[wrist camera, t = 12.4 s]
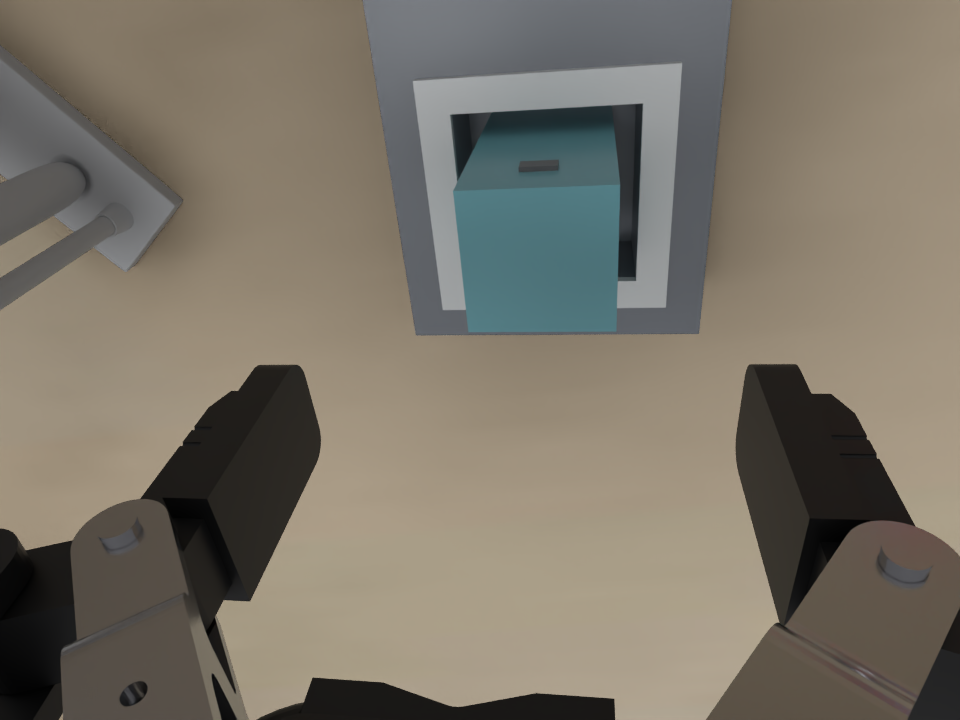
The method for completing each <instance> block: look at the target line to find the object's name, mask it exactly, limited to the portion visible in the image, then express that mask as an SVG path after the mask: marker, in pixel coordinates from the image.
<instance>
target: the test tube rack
mask: <svg viewBox="0 0 960 720" xmlns="http://www.w3.org/2000/svg"><path fill="white" fill-rule="evenodd" d="M0 174H1V175H2V176H3V177H5V178H6V179H7V181H5V182H2V183H0V245H2V244H4V243H6V242H7V241H9V240H11V239H13V238H15V237H16V236H18V235H20V234H22V233H23V232H25V231H27V230H29V229H30V228H32V227H34V226H36V225H38V224H39V223H41V222H43V221H45V220H46V219H48V218H50V217H52V216H54V217H56V218H57V219H58V220H59V221H61V222H62V223H63V224H65V225H66V226H67V227H68V228H70V229H71V230H72V231H73V232H74V233H72V234H70V235H69V236H67V237H66V238H64V239H62V240H61V241H59V242H57V243H56V244H54V245H53V246H51V247H49V248H48V249H46V250H45V251H43V252H41V253H40V254H38V255H36V256H35V257H33V258H32V259H30V260H28V261H27V262H25V263H24V264H22V265H20V266H19V267H17V268H15V269H14V270H12V271H11V272H9V273H7V274H6V275H4V276H3V277H1V278H0V310H1V309H3V308H4V307H6V306H7V305H9V304H10V303H12V302H13V301H15V300H16V299H18V298H19V297H21V296H22V295H24V294H25V293H26V292H28V291H29V290H31V289H32V288H34V287H35V286H37V285H38V284H40V283H41V282H43V281H44V280H46V279H47V278H49V277H50V276H52V275H53V274H55V273H56V272H58V271H59V270H61V269H62V268H64V267H65V266H66V265H68V264H69V263H71V262H72V261H74V260H75V259H77V258H78V257H80V256H81V255H83V254H84V253H86V252H87V251H89V250H90V249H92V248H93V247H94V248H95V249H96V250H98V251H99V252H100V253H101V254H103V255H104V256H105V257H106V258H108V259H109V260H110V261H112V262H113V263H114V264H115V265H117V266H118V267H119V268H121V269H122V270H123V271H125V272H127V271H128V270H129V269H131V268H132V267H133V266H135V265H136V263H137V262H138V261H139V259H140V258H141V257H142V255H143V254H144V253H145V251H146V250H147V249H148V247H149V246H150V245H151V243H152V242H153V241H154V239H155V238H156V237H157V235H158V234H159V233H160V231H161V230H162V229H163V227H164V226H165V225H166V223H167V222H168V221H169V220H170V218H171V217H172V216H173V214H174V213H175V212H176V210H177V209H178V208H179V206H180V205H181V203H182V202H183V200H182V198H180V197H179V196H178V195H177V194H176V193H175V192H173V191H172V190H171V189H170V188H169V187H168V186H166V185H165V184H164V183H163V182H162V181H160V180H159V179H158V178H157V177H156V176H155V175H153V174H152V173H151V172H150V171H149V170H147V169H146V168H145V167H144V166H143V165H141V164H140V163H139V162H138V161H137V160H136V159H134V158H133V157H132V156H131V155H130V154H128V153H127V152H126V151H125V150H124V149H123V148H121V147H120V146H119V145H118V144H117V143H115V142H114V141H113V140H112V139H111V138H110V137H108V136H107V135H106V134H105V133H104V132H102V131H101V130H100V129H99V128H98V127H97V126H95V125H94V124H93V123H92V122H91V121H89V120H88V119H87V118H86V117H85V116H84V115H82V114H81V113H80V112H79V111H78V110H76V109H75V108H74V107H73V106H72V105H71V104H69V103H68V102H67V101H66V100H65V99H63V98H62V97H61V96H60V95H59V94H58V93H56V92H55V91H54V90H53V89H52V88H51V87H49V86H48V85H47V84H46V83H45V82H43V81H42V80H41V79H40V78H39V77H38V76H36V75H35V74H34V73H33V72H32V71H30V70H29V69H28V68H27V67H26V66H25V65H23V64H22V63H21V62H20V61H19V60H17V59H16V58H15V57H14V56H13V55H12V54H10V53H9V52H8V51H7V50H6V49H4V48H3V47H2V46H1V45H0Z"/></svg>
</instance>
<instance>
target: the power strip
mask: <svg viewBox="0 0 960 720" xmlns="http://www.w3.org/2000/svg"><path fill="white" fill-rule="evenodd" d="M363 5H364V11H365V17H366V24H367V30H368V36H369V43H370V49H371V55H372V61H373V68H374V74H375V80H376V87H377V93H378V99H379V106H380V112H381V118H382V124H383V131H384V137H385V143H386V150H387V156H388V162H389V168H390V175H391V181H392V187H393V194H394V200H395V206H396V212H397V219H398V225H399V231H400V238H401V244H402V250H403V257H404V263H405V269H406V275H407V282H408V288H409V294H410V301H411V307H412V313H413V319H414V326H415V332H416V335H568V334H699V328H700V318H701V308H702V298H703V288H704V278H705V267H706V257H707V247H708V237H709V227H710V217H711V207H712V197H713V187H714V177H715V166H716V156H717V146H718V136H719V126H720V116H721V106H722V96H723V86H724V76H725V65H726V55H727V45H728V35H729V25H730V15H731V5H732V0H363ZM606 105H612V113H613V122H614V132H615V141H616V150H617V159H618V169H619V178H620V212H619V250H618V289H617V327H616V332H468V324H467V315H466V306H465V297H464V287H463V278H462V269H461V260H460V251H459V241H458V232H457V223H456V214H455V205H454V195H453V190H454V188H455V186H456V184H457V182H458V180H459V178H460V176H461V174H462V172H463V170H464V168H465V166H466V164H467V162H468V160H469V158H470V156H471V154H472V152H473V150H474V148H475V145H476V143H477V141H478V139H479V137H480V135H481V133H482V131H483V129H484V127H485V125H486V123H487V121H488V119H489V117H490V115H491V113H492V112H503V111H520V110H537V109H555V108H572V107H589V106H606Z"/></svg>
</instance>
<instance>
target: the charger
mask: <svg viewBox="0 0 960 720" xmlns="http://www.w3.org/2000/svg"><path fill="white" fill-rule="evenodd" d="M453 195H454V205H455V214H456V223H457V232H458V241H459V251H460V260H461V269H462V278H463V287H464V297H465V306H466V315H467V324H468V332H616V327H617V289H618V250H619V212H620V178H619V169H618V159H617V150H616V141H615V132H614V122H613V113H612V105H606V106H589V107H572V108H555V109H537V110H520V111H503V112H492V113H491V115H490V117H489V119H488V121H487V123H486V125H485V127H484V129H483V131H482V133H481V135H480V137H479V139H478V141H477V143H476V145H475V148H474V150H473V152H472V154H471V156H470V158H469V160H468V162H467V164H466V166H465V168H464V170H463V172H462V174H461V176H460V178H459V180H458V182H457V184H456V186H455V188H454V190H453Z"/></svg>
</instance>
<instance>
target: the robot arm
mask: <svg viewBox="0 0 960 720" xmlns="http://www.w3.org/2000/svg"><path fill="white" fill-rule="evenodd" d="M194 427H195V430H191V432H190V433H189V434H188V436H187V437H186V439H185V440H184V441H183V446H180V447H179V448H178V449H177V451H176V452H175V453H174V455H173V456H172V457H171V459H170V460H169V461H168V463H167V464H166V465H165V467H164V468H163V469H162V471H161V472H160V473H159V475H158V476H157V477H156V479H155V480H154V481H153V483H152V484H151V485H150V487H149V488H148V489H147V491H146V492H145V493H144V495H143V496H142V497H141V499H137V500H130V501H126V502H122V503H119V504H116V505H114V506H112V507H110V508H107V509H106V510H104V511H102V512H100V513H99V514H97V515H96V516H94V517H93V518H92V519H90V520H89V521H88V522H87V523H86V524H85V525H84V526H83V527H82V528H81V529H80V530H79V531H78V533H77V534H76V536H75V537H74V539H73V540H72V541H68V542H63V543H58V544H54V545H49V546H44V547H40V548H35V549H31V550H25V549H24V547H23V546H22V544H21V543H20V541H19V540H18V538H17V537H16V535H15V534H14V533H13V532H11V531H9V530H6V529H0V720H59V718H60V717H61V715H62V713H63V720H249V718H248V716H247V713H246V710H245V707H244V703H243V700H242V697H241V693H240V690H239V686H238V683H237V680H236V676H235V673H234V669H233V666H232V663H231V659H230V656H229V652H228V649H227V646H226V642H225V639H224V635H223V632H222V629H221V625H220V623H219V621H218V618H217V616H216V614H217V612H218V610H219V608H220V606H221V604H222V602H223V600H233V601H250V600H251V598H252V596H253V594H254V592H255V590H256V588H257V586H258V584H259V582H260V579H261V577H262V575H263V573H264V571H265V569H266V567H267V565H268V563H269V561H270V559H271V557H272V555H273V552H274V550H275V548H276V546H277V544H278V542H279V540H280V538H281V536H282V534H283V532H284V530H285V527H286V525H287V523H288V521H289V519H290V517H291V515H292V513H293V511H294V509H295V507H296V505H297V503H298V500H299V498H300V496H301V494H302V492H303V490H304V488H305V486H306V484H307V482H308V480H309V478H310V475H311V473H312V471H313V469H314V467H315V465H316V463H317V461H318V457H319V453H320V446H321V436H320V429H319V425H318V421H317V418H316V414H315V410H314V407H313V403H312V399H311V396H310V392H309V388H308V385H307V381H306V377H305V374H304V372H303V370H302V368H301V367H300V366H298V365H258V366H257V367H255V368H254V370H253V371H252V372H251V374H250V375H249V377H248V378H247V379H246V381H245V382H244V384H243V385H242V386H241V388H240V389H239V391H231V392H229V393H228V394H227V395H225V396H224V397H222V398H221V399H220V400H218V401H217V402H216V403H214V404H213V405H212V406H210V407H209V408H208V409H207V410H206V412H205V413H204V414H203V416H202V417H201V418H200V420H199V421H198V422H197V424H196V425H195V426H194ZM876 455H877V454H876V452H875V450H874V448H873V446H872V444H871V443H870V441H869V440H867V435H866V433H865V431H864V430H863V428H862V426H861V424H860V422H859V420H858V418H857V416H856V415H855V413H854V412H853V411H851V410H850V409H849V408H848V407H846V406H845V405H844V404H843V403H841V402H840V401H839V400H838V399H837V398H835V397H834V396H833V395H832V394H811V392H810V390H809V388H808V385H807V383H806V381H805V379H804V377H803V375H802V373H801V371H800V369H799V367H798V366H797V365H796V364H751V365H749V366H748V367H747V370H746V374H745V380H744V387H743V393H742V400H741V407H740V414H739V420H738V427H737V434H736V461H737V468H738V472H739V476H740V480H741V483H742V487H743V491H744V494H745V498H746V502H747V505H748V509H749V513H750V516H751V520H752V524H753V527H754V531H755V535H756V538H757V542H758V546H759V549H760V553H761V556H762V560H763V564H764V567H765V571H766V575H767V578H768V582H769V586H770V589H771V593H772V597H773V600H774V604H775V608H776V611H777V615H778V619H779V622H780V623H776V624H774V625H773V626H772V627H771V628H770V629H769V630H768V632H767V633H766V634H765V636H764V637H763V638H762V640H761V641H760V643H759V644H758V646H757V647H756V648H755V650H754V651H753V653H752V654H751V656H750V657H749V659H748V660H747V661H746V663H745V664H744V666H743V667H742V669H741V670H740V671H739V673H738V674H737V676H736V677H735V679H734V680H733V682H732V683H731V684H730V686H729V687H728V689H727V690H726V692H725V693H724V695H723V696H722V697H721V699H720V700H719V702H718V703H717V705H716V706H715V708H714V709H713V710H712V712H711V713H710V715H709V716H708V718H707V719H706V720H960V556H959V555H958V554H957V553H956V552H955V551H954V550H953V549H952V548H951V547H950V546H949V545H948V544H946V543H945V542H944V541H942V540H941V539H939V538H938V537H936V536H934V535H933V534H931V533H929V532H927V531H925V530H923V529H920V528H917V527H915V525H914V523H913V521H912V519H911V517H910V515H909V514H908V512H907V510H906V508H905V506H904V504H903V502H902V501H901V499H900V497H899V495H898V493H897V491H896V489H895V487H894V486H893V484H892V482H891V480H890V478H889V476H888V474H887V472H886V471H885V469H884V467H883V465H882V463H881V461H880V459H877V457H876ZM257 720H615V705H614V699H610V698H595V697H581V696H567V695H552V694H538V693H536V694H530V695H525V696H519V697H514V698H508V699H503V700H497V701H492V702H486V703H481V704H475V705H470V706H464V707H452V706H448V705H445V704H442V703H439V702H436V701H433V700H431V699H428V698H425V697H422V696H419V695H417V694H414V693H411V692H408V691H405V690H402V689H400V688H397V687H394V686H391V685H388V684H385V683H381V682H367V681H352V680H338V679H324V678H312V681H311V684H310V687H309V690H308V692H307V695H306V698H305V701H304V703H298V704H295V705H291V706H288V707H285V708H282V709H279V710H276V711H274V712H272V713H269V714H267V715H265V716H263V717H260V718H259V719H257Z"/></svg>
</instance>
